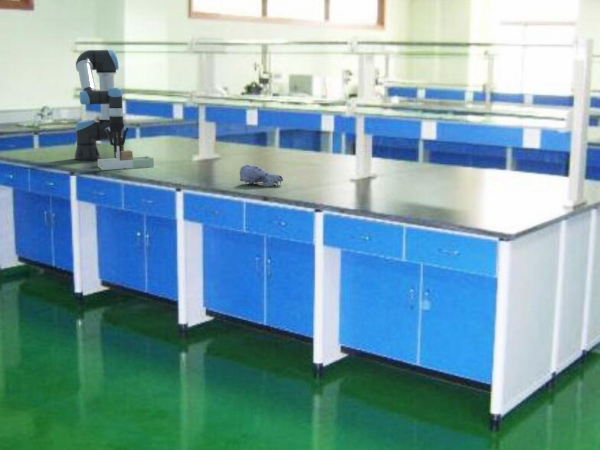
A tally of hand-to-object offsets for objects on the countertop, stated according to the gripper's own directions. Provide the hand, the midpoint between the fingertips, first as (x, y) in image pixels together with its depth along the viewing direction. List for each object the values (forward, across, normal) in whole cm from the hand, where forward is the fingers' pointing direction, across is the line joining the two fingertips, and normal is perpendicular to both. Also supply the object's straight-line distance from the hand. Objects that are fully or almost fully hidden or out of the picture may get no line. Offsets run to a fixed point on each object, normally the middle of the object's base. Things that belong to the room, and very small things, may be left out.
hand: (117, 157), depth 477 cm
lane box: (+6, +4, 0) cm, 7 cm away
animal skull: (+6, +50, -90) cm, 104 cm away
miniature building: (+6, +5, +19) cm, 20 cm away
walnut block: (+3, +5, 0) cm, 5 cm away
